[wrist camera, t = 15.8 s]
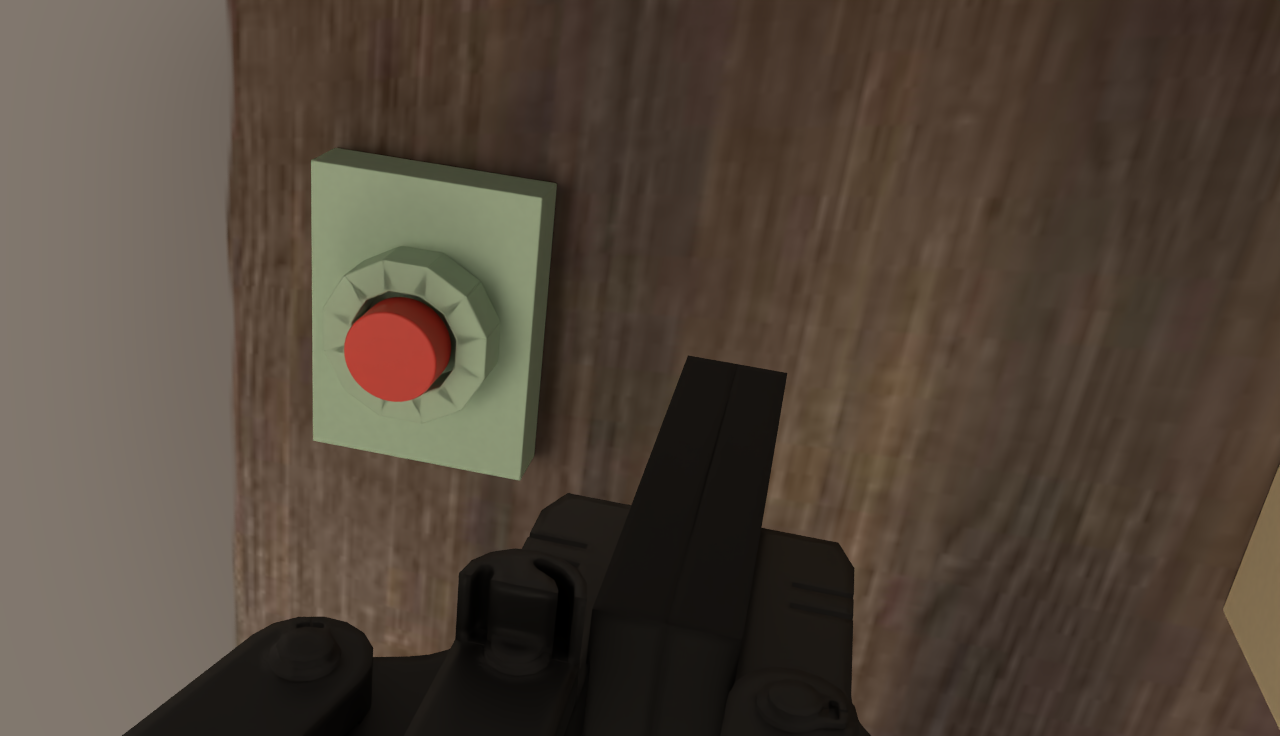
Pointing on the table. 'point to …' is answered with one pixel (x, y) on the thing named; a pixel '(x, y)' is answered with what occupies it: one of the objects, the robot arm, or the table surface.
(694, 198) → the table surface
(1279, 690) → the toaster
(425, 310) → the red button
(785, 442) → the table surface
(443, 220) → the control block
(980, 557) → the table surface
